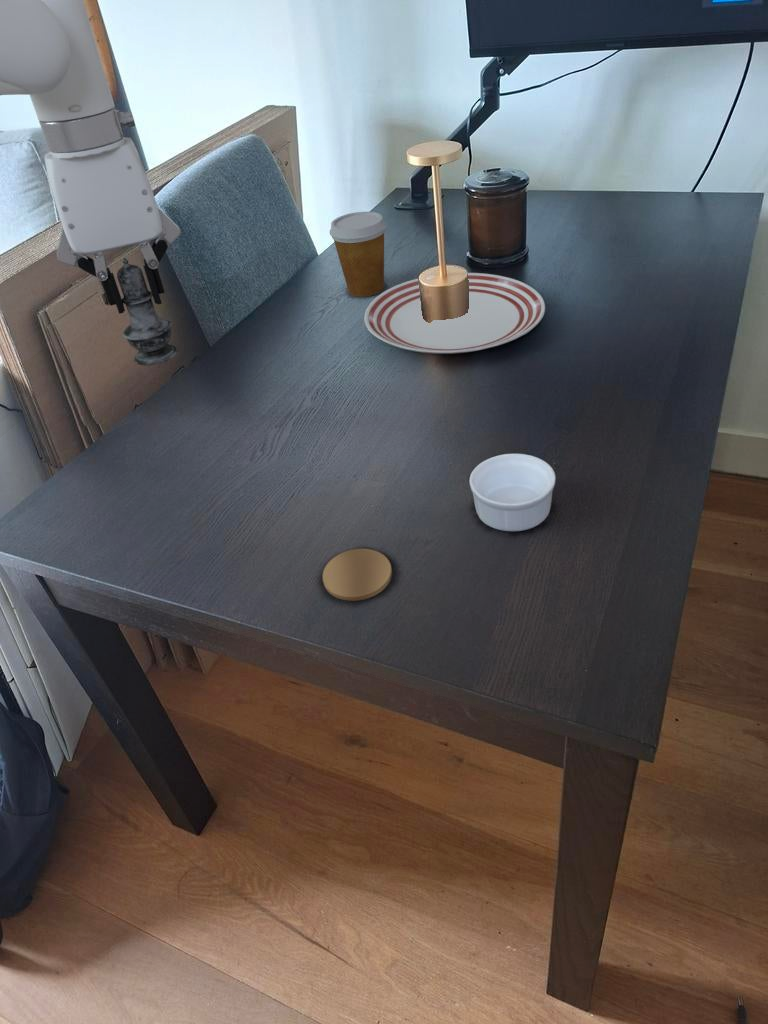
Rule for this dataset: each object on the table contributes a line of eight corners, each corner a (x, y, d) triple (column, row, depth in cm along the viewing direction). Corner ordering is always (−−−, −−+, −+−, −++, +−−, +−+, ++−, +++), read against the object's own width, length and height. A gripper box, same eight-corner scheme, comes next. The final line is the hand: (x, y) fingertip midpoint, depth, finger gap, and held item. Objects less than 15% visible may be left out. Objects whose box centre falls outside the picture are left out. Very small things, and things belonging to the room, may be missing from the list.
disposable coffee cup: (376, 274, 138) (367, 206, 130) (403, 289, 131) (395, 219, 124) (330, 289, 135) (318, 221, 127) (355, 306, 128) (344, 235, 120)
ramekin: (522, 548, 77) (522, 515, 74) (454, 516, 82) (452, 484, 79) (571, 502, 82) (572, 470, 79) (503, 475, 87) (502, 443, 84)
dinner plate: (556, 290, 123) (557, 270, 121) (528, 374, 104) (528, 352, 101) (396, 288, 132) (394, 270, 130) (342, 365, 112) (338, 345, 110)
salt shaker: (189, 348, 93) (161, 251, 85) (155, 370, 89) (122, 270, 82) (156, 341, 96) (126, 246, 88) (121, 362, 92) (86, 264, 85)
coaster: (335, 610, 73) (334, 605, 73) (315, 565, 79) (314, 561, 78) (402, 586, 75) (401, 582, 74) (378, 544, 80) (377, 540, 80)
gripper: (160, 113, 82) (203, 278, 93) (0, 143, 78) (66, 310, 90) (169, 124, 76) (214, 298, 87) (-3, 157, 73) (67, 334, 84)
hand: (139, 303), depth 88 cm, fingers closed on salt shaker, 3 cm apart
